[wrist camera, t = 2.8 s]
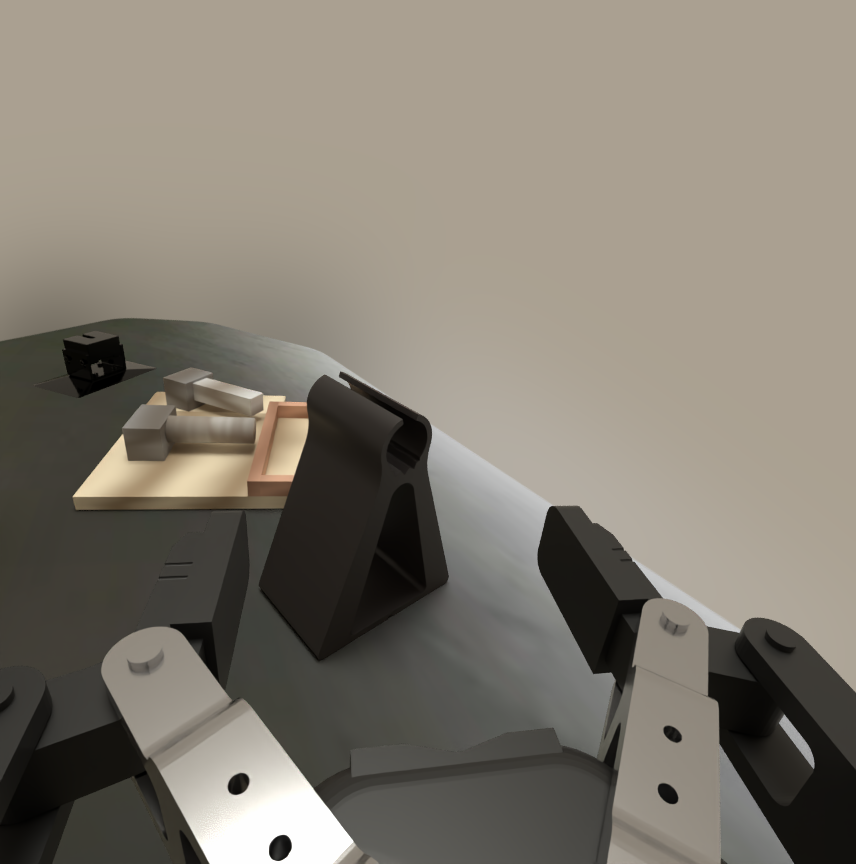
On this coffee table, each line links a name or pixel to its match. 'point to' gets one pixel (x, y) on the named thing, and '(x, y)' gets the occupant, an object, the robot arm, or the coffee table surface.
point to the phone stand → (355, 518)
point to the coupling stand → (201, 450)
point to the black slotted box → (97, 376)
